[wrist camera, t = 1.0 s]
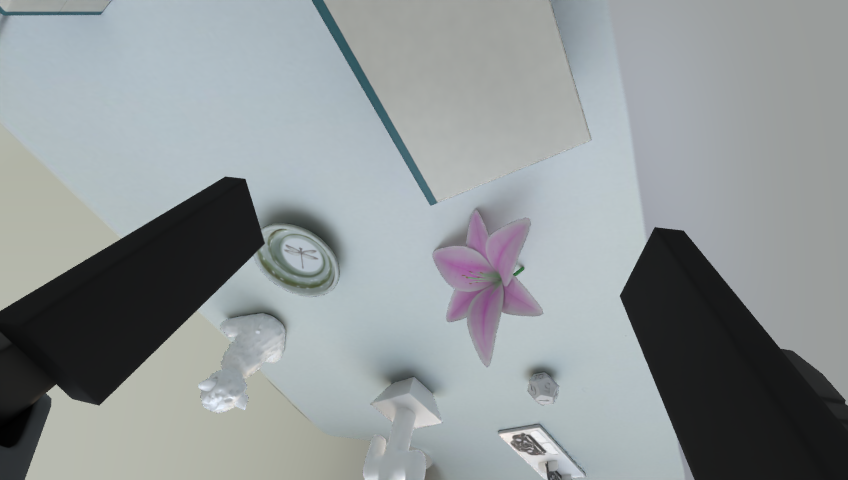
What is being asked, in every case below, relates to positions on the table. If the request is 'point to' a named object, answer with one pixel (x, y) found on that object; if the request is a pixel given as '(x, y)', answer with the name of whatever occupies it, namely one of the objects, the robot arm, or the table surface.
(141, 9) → the table surface
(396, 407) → the figurine
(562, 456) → the car cutout
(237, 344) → the sitting furry creature
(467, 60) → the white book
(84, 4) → the white rectangular block
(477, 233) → the lily
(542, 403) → the game die
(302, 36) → the table surface
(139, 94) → the table surface
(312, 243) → the saucer
